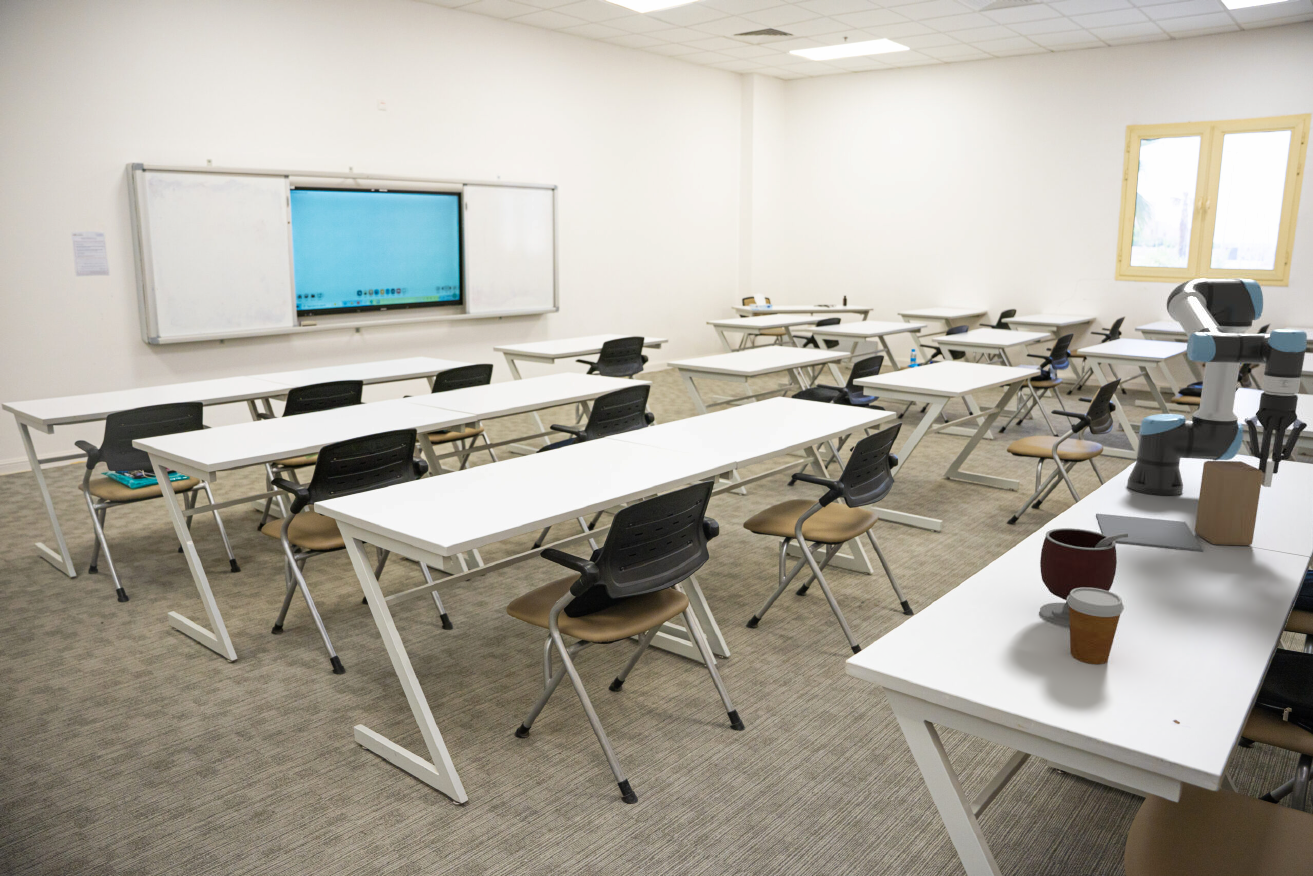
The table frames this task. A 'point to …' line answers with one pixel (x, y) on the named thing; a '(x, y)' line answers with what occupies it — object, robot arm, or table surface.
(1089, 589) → the disposable coffee cup
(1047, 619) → the mate gourd
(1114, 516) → the mat
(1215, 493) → the wooden block
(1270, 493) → the table surface
